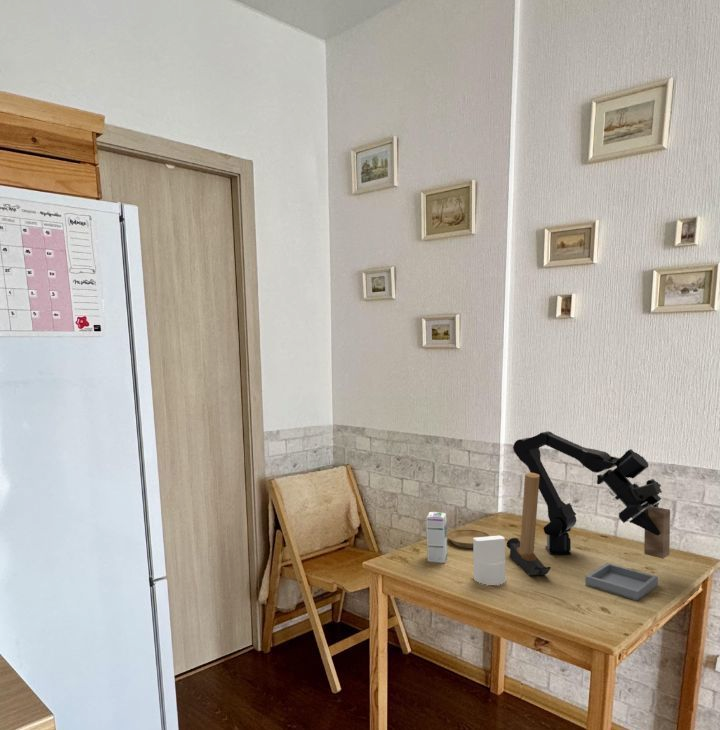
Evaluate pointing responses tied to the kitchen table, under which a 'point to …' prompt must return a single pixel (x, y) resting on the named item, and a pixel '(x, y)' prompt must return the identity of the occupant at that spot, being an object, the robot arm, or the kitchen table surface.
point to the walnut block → (660, 543)
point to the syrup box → (436, 537)
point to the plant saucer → (465, 537)
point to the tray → (622, 581)
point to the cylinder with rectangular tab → (489, 560)
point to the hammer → (528, 530)
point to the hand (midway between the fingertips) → (662, 532)
